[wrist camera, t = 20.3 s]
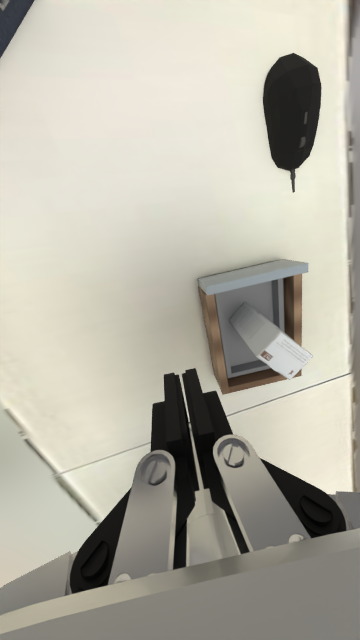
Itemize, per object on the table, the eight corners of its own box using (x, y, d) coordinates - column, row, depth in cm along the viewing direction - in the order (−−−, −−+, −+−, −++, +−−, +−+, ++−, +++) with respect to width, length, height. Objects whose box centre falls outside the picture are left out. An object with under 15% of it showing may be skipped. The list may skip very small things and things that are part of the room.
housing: (282, 357, 42) (301, 375, 36) (214, 373, 42) (222, 394, 36) (279, 267, 35) (301, 272, 30) (198, 286, 35) (205, 295, 30)
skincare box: (268, 319, 36) (318, 355, 25) (251, 339, 37) (291, 382, 26) (243, 299, 35) (284, 329, 23) (225, 321, 36) (256, 358, 24)
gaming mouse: (272, 199, 32) (287, 193, 28) (257, 69, 26) (274, 41, 23) (312, 186, 32) (333, 179, 28) (306, 53, 26) (330, 23, 23)
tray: (285, 354, 40) (306, 373, 35) (214, 371, 40) (223, 392, 35) (283, 259, 34) (308, 263, 28) (198, 278, 33) (206, 286, 28)
